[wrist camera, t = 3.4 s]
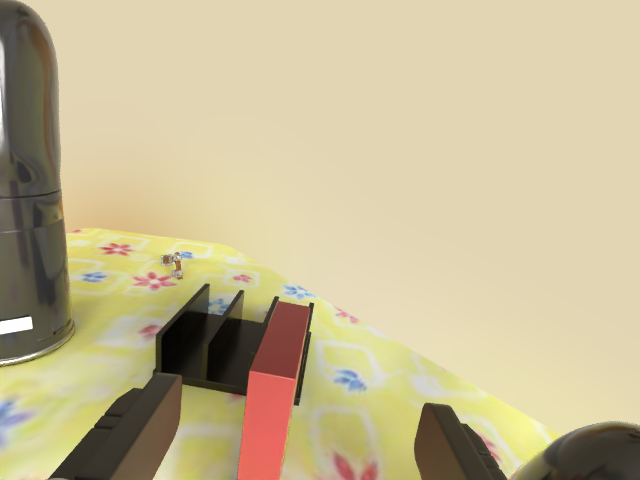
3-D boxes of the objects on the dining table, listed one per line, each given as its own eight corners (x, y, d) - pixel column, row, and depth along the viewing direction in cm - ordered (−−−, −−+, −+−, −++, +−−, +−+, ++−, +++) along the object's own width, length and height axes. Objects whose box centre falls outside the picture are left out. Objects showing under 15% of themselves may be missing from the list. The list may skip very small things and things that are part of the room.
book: (230, 537, 22) (249, 370, 17) (259, 433, 29) (278, 300, 25) (267, 545, 22) (295, 379, 17) (287, 438, 29) (310, 306, 25)
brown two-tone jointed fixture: (176, 280, 52) (173, 252, 52) (163, 279, 58) (160, 254, 58) (187, 278, 53) (184, 251, 53) (174, 277, 59) (171, 253, 59)
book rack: (152, 378, 33) (152, 334, 32) (201, 318, 45) (203, 283, 43) (298, 406, 33) (306, 362, 31) (310, 337, 44) (316, 303, 43)
